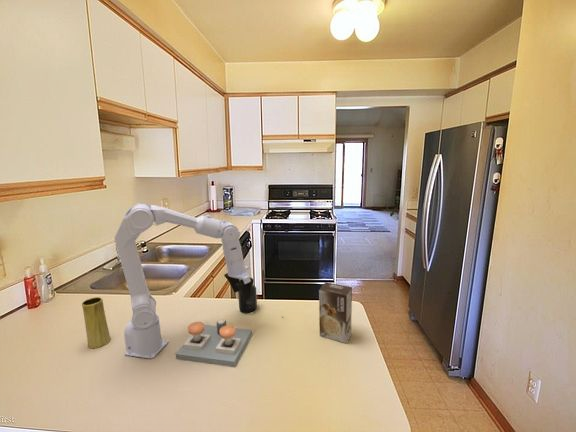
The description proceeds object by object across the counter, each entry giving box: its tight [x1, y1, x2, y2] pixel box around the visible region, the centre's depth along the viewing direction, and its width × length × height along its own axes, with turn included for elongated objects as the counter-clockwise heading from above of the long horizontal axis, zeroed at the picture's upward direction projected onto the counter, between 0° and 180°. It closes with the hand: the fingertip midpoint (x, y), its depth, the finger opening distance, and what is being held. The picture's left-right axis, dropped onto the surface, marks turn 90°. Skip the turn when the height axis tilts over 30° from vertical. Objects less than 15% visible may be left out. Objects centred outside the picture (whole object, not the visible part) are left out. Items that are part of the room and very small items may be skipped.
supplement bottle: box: [237, 279, 258, 315], centre depth 107 cm, size 7×7×12 cm
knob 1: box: [187, 321, 205, 342], centre depth 86 cm, size 5×5×4 cm
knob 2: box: [219, 324, 237, 345], centre depth 84 cm, size 5×5×4 cm
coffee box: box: [318, 282, 353, 344], centre depth 91 cm, size 9×6×16 cm
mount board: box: [174, 324, 253, 368], centre depth 88 cm, size 18×15×3 cm
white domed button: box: [216, 318, 228, 335], centre depth 91 cm, size 3×3×4 cm
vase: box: [81, 296, 111, 349], centre depth 89 cm, size 6×6×14 cm
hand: (242, 295), depth 97 cm, fingers open, 7 cm apart
